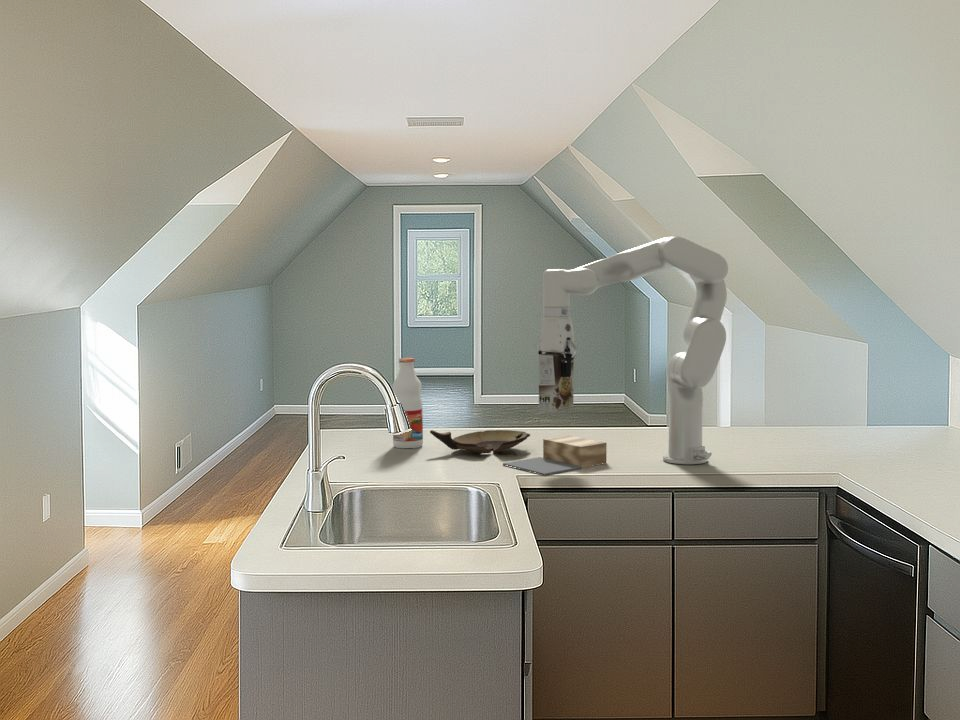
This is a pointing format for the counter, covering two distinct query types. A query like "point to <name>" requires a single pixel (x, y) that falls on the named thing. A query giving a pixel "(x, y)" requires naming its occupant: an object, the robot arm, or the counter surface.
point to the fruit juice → (409, 404)
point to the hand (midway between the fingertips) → (556, 375)
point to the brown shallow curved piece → (483, 440)
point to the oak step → (575, 450)
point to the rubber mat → (543, 466)
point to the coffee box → (554, 384)
